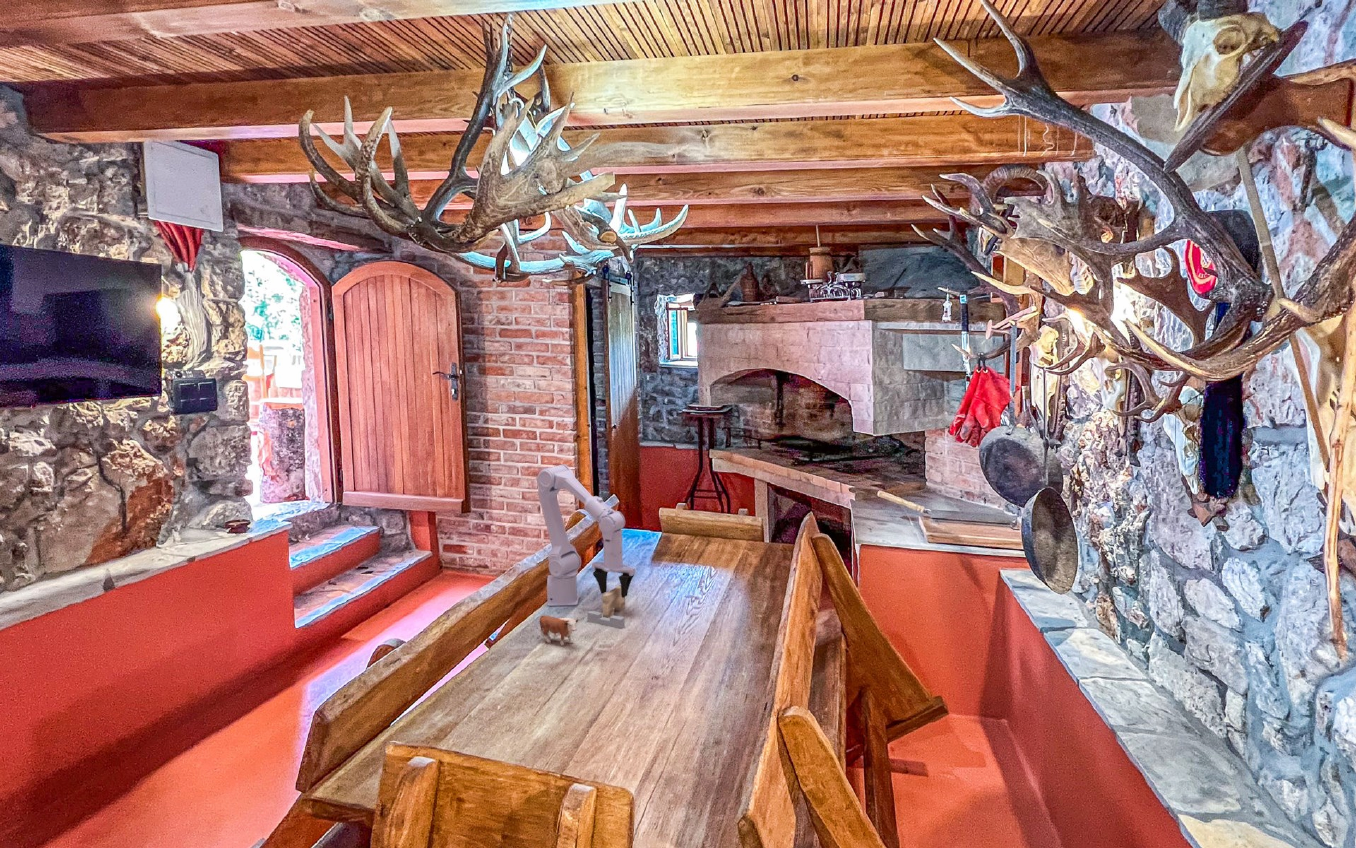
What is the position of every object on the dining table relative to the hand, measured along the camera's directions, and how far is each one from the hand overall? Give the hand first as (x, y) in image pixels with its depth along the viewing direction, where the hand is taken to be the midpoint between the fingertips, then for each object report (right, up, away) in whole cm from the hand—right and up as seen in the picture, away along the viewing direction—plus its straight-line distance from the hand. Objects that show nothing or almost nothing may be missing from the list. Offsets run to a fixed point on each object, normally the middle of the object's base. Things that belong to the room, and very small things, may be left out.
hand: (614, 594), depth 233 cm
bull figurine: (-13, -9, -21) cm, 27 cm away
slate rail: (-2, -7, -8) cm, 11 cm away
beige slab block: (0, -6, +1) cm, 6 cm away
